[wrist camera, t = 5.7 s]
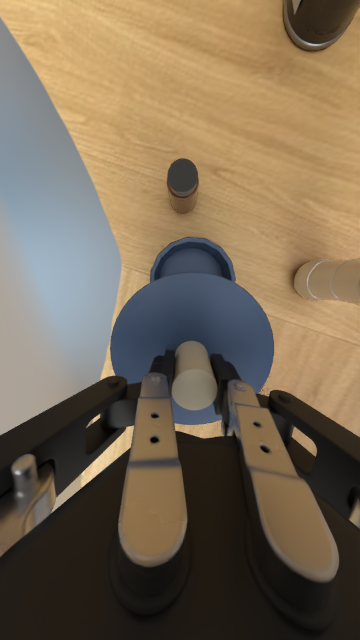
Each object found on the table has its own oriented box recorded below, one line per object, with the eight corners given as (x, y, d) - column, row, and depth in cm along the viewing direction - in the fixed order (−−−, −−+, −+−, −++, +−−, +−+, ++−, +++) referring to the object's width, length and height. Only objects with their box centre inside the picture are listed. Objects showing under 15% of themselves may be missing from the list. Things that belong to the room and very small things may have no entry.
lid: (115, 265, 14) (72, 258, 9) (282, 279, 14) (344, 281, 9) (114, 409, 17) (82, 472, 12) (253, 421, 17) (286, 490, 12)
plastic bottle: (287, 299, 34) (423, 332, 15) (290, 260, 32) (447, 239, 13) (323, 297, 34) (511, 328, 14) (328, 258, 32) (546, 233, 13)
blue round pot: (158, 241, 32) (152, 233, 26) (230, 247, 32) (241, 241, 26) (155, 312, 35) (148, 320, 29) (220, 317, 35) (228, 327, 29)
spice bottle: (171, 183, 30) (166, 154, 23) (197, 185, 30) (201, 157, 23) (169, 212, 31) (164, 193, 24) (194, 214, 31) (197, 196, 24)
